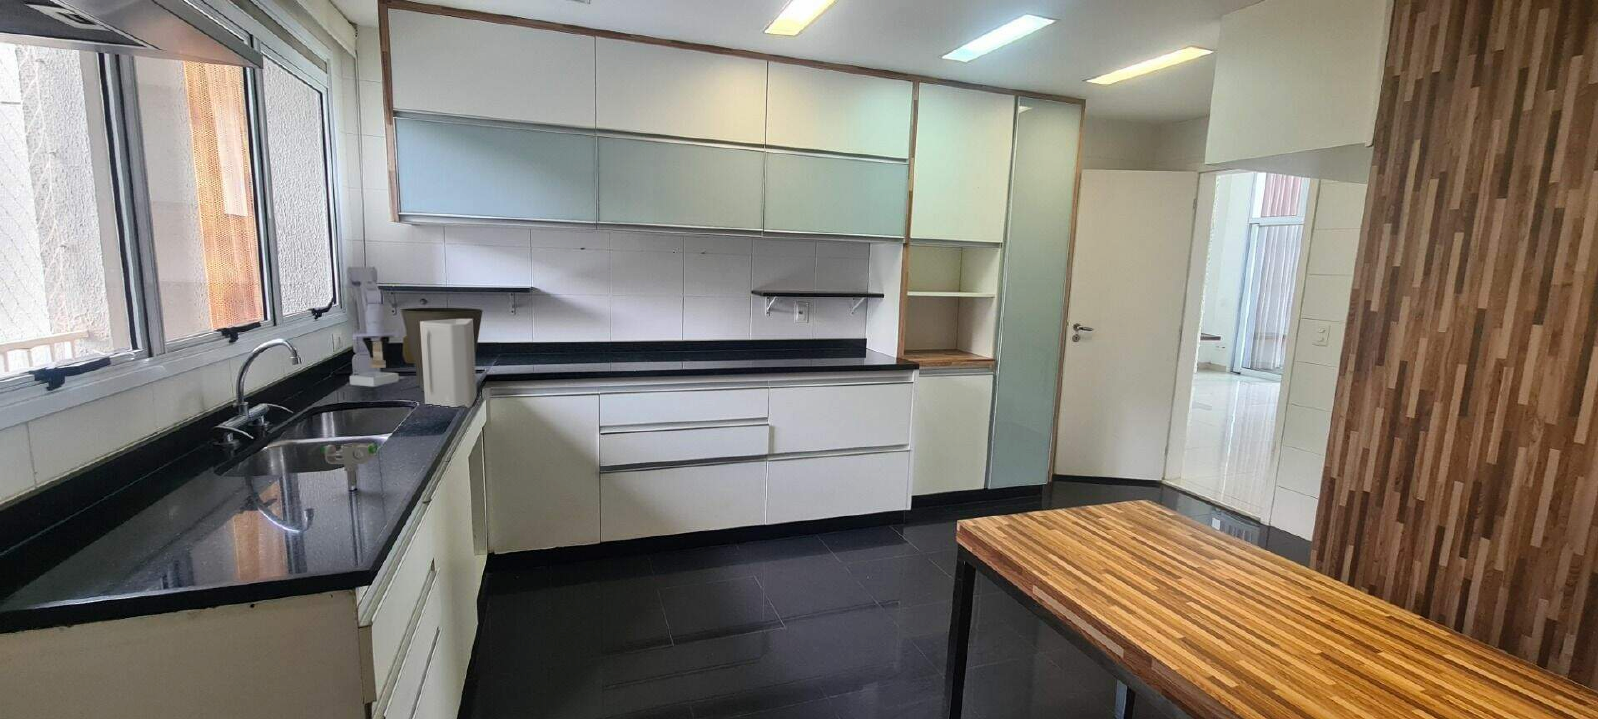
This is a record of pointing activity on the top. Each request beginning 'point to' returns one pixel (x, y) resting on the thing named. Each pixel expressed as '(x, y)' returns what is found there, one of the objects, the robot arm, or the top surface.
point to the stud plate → (401, 377)
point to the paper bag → (448, 362)
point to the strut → (377, 355)
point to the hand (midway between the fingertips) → (377, 357)
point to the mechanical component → (350, 457)
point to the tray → (374, 379)
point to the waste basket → (417, 315)
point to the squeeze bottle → (407, 351)
